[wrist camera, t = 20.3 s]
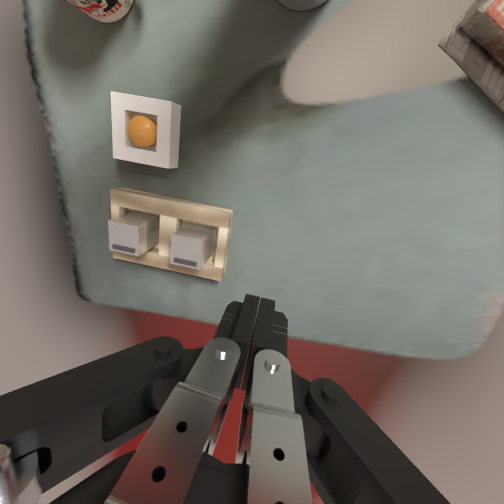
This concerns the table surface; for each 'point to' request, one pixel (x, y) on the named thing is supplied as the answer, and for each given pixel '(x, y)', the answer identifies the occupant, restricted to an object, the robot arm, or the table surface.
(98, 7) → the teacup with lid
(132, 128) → the button
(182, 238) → the block
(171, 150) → the box
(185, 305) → the table surface
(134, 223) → the steel billet
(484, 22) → the packaged product
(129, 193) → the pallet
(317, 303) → the table surface
